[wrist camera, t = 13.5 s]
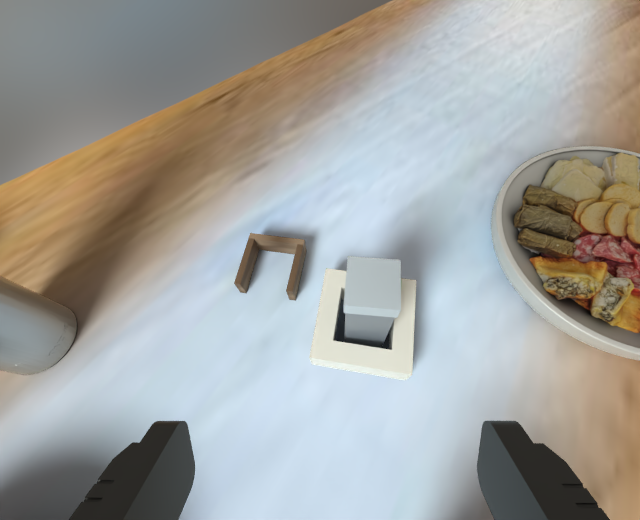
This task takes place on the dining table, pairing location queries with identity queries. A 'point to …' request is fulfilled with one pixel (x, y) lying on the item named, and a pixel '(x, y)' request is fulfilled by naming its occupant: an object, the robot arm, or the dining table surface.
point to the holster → (275, 245)
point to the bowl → (576, 243)
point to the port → (361, 357)
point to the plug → (371, 299)
